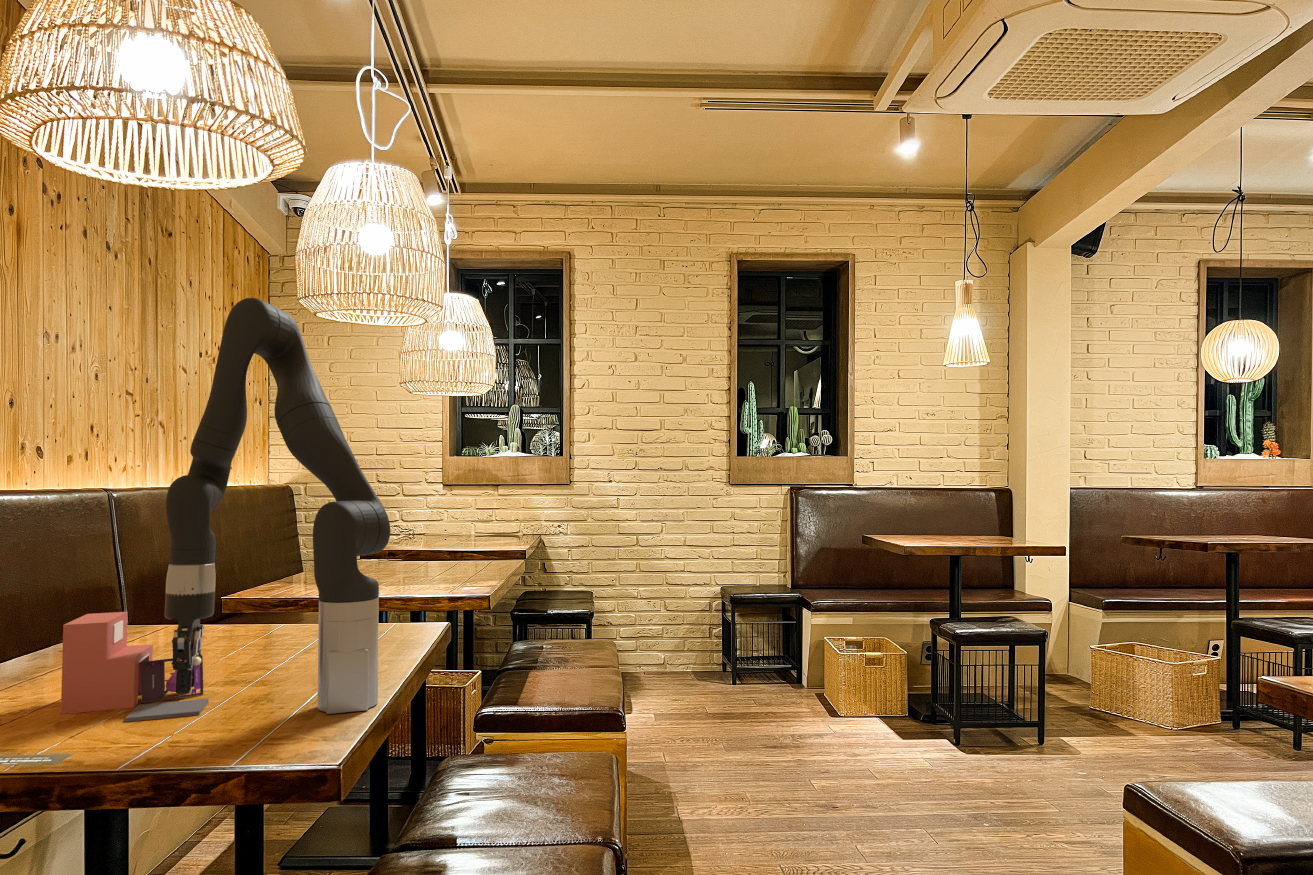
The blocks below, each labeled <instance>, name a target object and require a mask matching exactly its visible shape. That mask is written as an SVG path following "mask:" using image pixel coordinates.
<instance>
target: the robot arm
mask: <svg viewBox="0 0 1313 875" xmlns="http://www.w3.org/2000/svg"><path fill="white" fill-rule="evenodd" d="M221 335H222V337H221V339H220V340H221V341H220V345H219V349H218V355H217V359H216V363H215V367H214V374H213V379H212V385H211V387H210V388H211V389H210V393H209V397H208V400H207V403H206V407H205V409H204V412H203V415H202V416H201V418H200V422H199V425H198V426H197V430H196V432H195V434H194V437H193V439H192V442H191V445H190V449H189V450H190V452H189V453H190V454H191V457H192V460H191V464H190V468H189V470H188V472H187V474H185V475H182V476H179V477H178V478H176V479H174V480H173V482H171V484H170V485H169V487H168V490H167V493H166V498H165V499H166V500H165V511H166V512H165V513H166V519H167V527H168V528H167V529H168V532H169V537H170V541H169V554H168V555H169V557H168V567H167V573H166V578H165V598H164V601H165V602H164V617H165V619H167V620H171V621H178V624H177V628H176V629H174V631H173V635H172V636H173V637H172V640H171V643H172V658H173V665H172V670H173V671H174V672H175V671H176V672H177V675H176V692H175V693H176V694H177V695H180V694H181V695H186V694H190V692H192V688H194V665H193V658H194V657H195V656H197V655H202V646H203V635H204V630H205V626H204V624H201V620H203V619H207V618H210V617H213V615H214V614H215V600H216V598H215V597H216V582H217V581H216V579H217V578H216V577H217V575H216V572H217V571H216V546H217V540H216V534H215V533H214V532H213V531H212V530H211V514H210V513H212V512H213V511H214V510H215V509H217V508H218V507H219V505H220V504H221V502H222V500H223V498H224V496H225V493H226V490H227V486H228V483H229V478H230V474H231V473H230V472H231V468H232V462H233V459H234V457H235V455H236V453H237V450H238V448H239V445H240V443H241V440H242V437H243V436H244V432H245V430H246V426H247V421H248V419H247V418H248V404H247V403H248V402H247V389H246V388H247V386H246V385H247V384H246V383H247V374H248V369H249V365H250V362H251V360H252V358H253V356H254V354H255V355H258V356H259V357H261V358H262V359H263V360H264V361H265V364H266V365H267V366H268V368H269V369H270V372H271V373H272V376H273V378H274V381H275V384H276V387H277V388H276V390H277V391H276V395H275V396H276V397H275V401H274V420H275V422H276V425H277V427H278V430H279V432H280V435H281V436H282V438H283V441H284V444H285V446H286V448H287V449H288V451H289V452H290V453H291V455H292V456H293V457H294V458H295V459H296V460H297V462H299V463H300V464H301V465H302V466H303V467H304V468H305V469H306V470H308V471H309V472H310V473H311V474H312V475H313V476H315V477H316V478H317V479H318V480H319V481H320V482H321V483H322V484H324V485H325V487H326V488H327V489H328V491H329V492H330V493H331V494H332V496H333V498H334V500H335V501H330V502H327V503H325V504H323V505H322V506H321V507H320V508H319V509H318V511H317V512H316V515H315V517H314V520H313V526H312V551H313V573H314V575H313V576H314V581H315V585H316V588H317V591H318V621H317V622H318V623H317V624H318V631H317V634H318V636H317V710H319V711H321V712H324V713H326V714H327V715H328V714H329V715H331V714H332V715H333V714H340V713H342V714H343V713H349V712H350V713H351V712H361V711H368V710H369V709H370V708H372V707H374V706H376V705H378V703H379V702H378V700H379V613H380V612H379V611H380V610H379V609H380V607H379V606H380V605H379V604H380V602H379V600H380V598H379V596H380V591H379V590H380V588H379V587H380V586H379V581H377V579H376V578H373V577H370V576H367V575H365V574H363V573H362V572H361V571H360V569H359V565H358V557H361V556H369V555H374V554H378V553H380V552H382V551H383V550H384V549H385V548H386V547H387V545H388V543H389V540H390V538H391V524H390V520H389V519H390V518H389V516H388V514H387V511H386V509H385V506H384V505H383V503H382V502H381V500H380V498H379V497H378V495H377V493H376V492H375V491H374V490H375V489H373V487H372V485H371V484H370V483H369V480H368V479H367V477H366V476H365V474H364V472H363V471H362V469H361V467H360V465H359V463H358V462H357V461H358V460H356V458H355V455H354V453H353V451H352V449H351V447H350V445H349V443H348V442H347V441H348V440H346V437H345V436H344V432H343V430H342V428H341V426H340V423H339V421H338V418H337V417H336V414H335V412H334V410H333V408H332V406H331V404H330V402H329V399H328V398H327V397H326V394H325V392H324V390H323V388H322V386H321V383H320V381H319V379H318V377H317V375H316V372H315V370H314V368H313V366H312V364H311V361H310V357H309V355H308V352H307V348H306V346H305V343H304V339H303V337H302V333H301V330H300V328H299V326H298V324H297V322H296V320H295V318H293V317H292V316H291V315H290V314H289V313H288V312H287V311H284V310H283V309H281V308H278V307H277V306H274V305H272V304H270V303H269V302H267V301H264V300H262V299H260V298H256V297H246V298H243V299H241V300H239V301H237V303H235V304H234V306H232V308H231V310H230V311H229V313H228V314H227V318H226V321H225V323H224V326H223V331H222V334H221ZM181 658H186V662H180V660H181ZM181 661H182V660H181ZM192 677H193V678H192Z"/></svg>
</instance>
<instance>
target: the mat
mask: <svg viewBox="0 0 1313 875" xmlns="http://www.w3.org/2000/svg"><path fill="white" fill-rule="evenodd" d="M208 703H209V698H203V699H191V700H179V701H177V700H176V701H167V702H166V701H165V702H155V703H141V704H137V705H136V706H135V707H134V709H133V710H131V711H130V713H129V714H128V715H126V717H125V719H124V720H125V722H124V723H127V722H129V723H130V722H139V721H148V720H160V719H161V720H162V719H170V718H171V719H173V718H182V717H193V716H194V715H195V716H200V714H201V713H202V712H203V710H204V709H205V708H206V706H207V705H208ZM192 715H193V716H192Z"/></svg>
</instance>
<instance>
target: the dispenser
mask: <svg viewBox="0 0 1313 875" xmlns="http://www.w3.org/2000/svg"><path fill="white" fill-rule="evenodd" d="M128 613H129V612H128V611H119V612H118V611H114V612H99V613H97V612H96V613H86V614H84V615H82V616H79V617H78V618H75V619H73V620H71V621H69V622H66V623H64V624H63V625H62V626H63V630H62V657H61V658H62V659H61V660H62V661H61V694H60V696H61V697H60V699H61V700H60V715H64V714H66V715H67V714H75V713H87V712H98V711H108V710H109V711H111V710H121V709H133V708H134V709H135V708H136V707H137V706H138V705H139V704H138V702H139V701H138V700H139V699H138V698H139V696H138V695H142V662H145V661H153V656H154V655H153V652H154V648H153V647H154V644H141V645H140V644H139V645H128V644H127V642H128Z"/></svg>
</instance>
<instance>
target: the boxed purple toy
mask: <svg viewBox="0 0 1313 875" xmlns="http://www.w3.org/2000/svg"><path fill="white" fill-rule="evenodd" d="M203 657H204V656H203V655H202V654H201V655H197V656H195V657H194V658H193V665H194V687H193V688H191V691H190V692H191V693H187V694H181V695H180V694H179V695H176V696H174V695H173V696H168V697H165V696H166V695H168V693H176V675H177V672H176V671H175V670H174V672H169V675H170V677H169V678H168V679H165V675H166V674H165V673H166V671H165V669H166V668H165V667H166V666H165V663H166V662H171V665H172V666H173V657H172V658H164V659H155V660H152V661H145V662H142V694H141V704H148V703H151V702H152V703H153V702H161V701H167V700H174V699H180V698H189V697H197V696H202V695H204V658H203ZM181 660H182V661H181ZM181 660H180V662H186V658H181ZM192 678H193V677H192ZM165 682H166V683H165ZM197 690H199V691H200V692H197Z"/></svg>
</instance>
